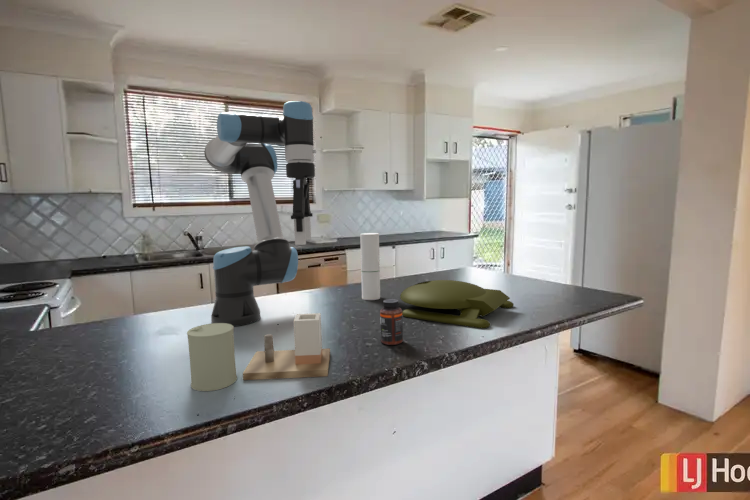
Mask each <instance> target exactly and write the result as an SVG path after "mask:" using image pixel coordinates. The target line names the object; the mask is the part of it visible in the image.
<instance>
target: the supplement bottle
mask: <svg viewBox="0 0 750 500" xmlns="http://www.w3.org/2000/svg"><path fill="white" fill-rule="evenodd" d="M382 303H383V304H382V305H383V307H382V308H380V310H379V320H380V321H379V322H380V323H379V324H380V341H381V342H380V343H382V344H384V345H387V346H395V345H400V344H402V342H404V325H403V321H404V320H403V315H402V312H403V310H402V308H401V307H399V300H398V299H395V298H387V299H383V302H382Z"/></svg>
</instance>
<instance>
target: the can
mask: <svg viewBox="0 0 750 500" xmlns="http://www.w3.org/2000/svg"><path fill="white" fill-rule="evenodd" d="M234 327H235V326H233V325H231V324H227V323H212V322H211V323H207V324H201V325H197V326H194V327H192V328H191V329H189V330H188V331H187V332H186V335H187V342H188V343H187V344H188V354H189V367H190V388H191V389H193V390H195V391H198V392H213V391H218V390H223V389H226V388H228V387H229V386H232V385H233V384H234V383H236V381H237V379H238V376H237V368H236V355H235V354H236V353H235V337H234V336H235V335H234V332H235V331H234Z"/></svg>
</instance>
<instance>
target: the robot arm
mask: <svg viewBox="0 0 750 500" xmlns="http://www.w3.org/2000/svg"><path fill="white" fill-rule="evenodd" d="M282 109H283V110H282V116H275V115H261V114H251V113H250V114H249V113H239V112H235V111H234V112H233V111H231V112H220V113H219V114H218V116H217V121H216V130H217V131H216V132H217V135H216V137H214V138H212V139H211V140H209V141H208V142H207V144H206V146H205V147H204V150H203V151H204V152H203V153H204V159H205V160H206V162H207V163H208V164H209V166H210V167H212V168H213V169H214V170H216V171H219V172H221V173H223V174H228V175H229V174H230V175H240V177H241V178H240V179H241V180H242V181H243V183H246V185H247V191H248V195H249V196H248V197H249V201H250V207H251V212H252V218H253V222H254V229H255V234H256V239H257V243H256V244H255V245H254V250H252V247H251V246H248V245H247V246H236V247H230V248H225V249H223V250H220V251H217V252H216V253H215V254H214V255H213V262H212V263H213V265H212V266H213V267H212V269H213V278H214V291H215V301H214V304H213V307H212V308H213V309H212V311H211V315H210V319H211V324H212V323H227V324H231V325H233V327H238V326H244V325H250V324H252V323H255V322H257V321H259V320H261V318H262V317H261V310H260V307H259V304H258V302H257V299H256V297H255V291H254V287H255V286H264V285H265V286H266V285H273V284H283V283H287V282H291V281H293V280H294V279H295V278H296V276H297V273H298V268H299V255H298V251H297V249H296V248H295V247H293V246H290V243H289V240H288V239H286V238H284V235H283V231H282V226H281V221H280V217H279V211H278V208H277V202H276V198H275V193H274V187H273V182H272V180H273V179H274V177H275V174H276V172H277V171H278V157H277V153H276V150H275V148H274V147H273V146H272V145H276V146H279V147H284V155H285V156H284V157H285V159H284V160H285V161H286V162H287V163H286V164H285V172H286V173H285V174H286V178H288V179H293V180H292V190H293V192H292V193H293V194H292V214H291V215H290V219H291V220H293V224H294V225H293V227H294V228H293V229H294V245H295V246H301V245H303V246H305V245H307V241H309V240H310V241H311V240H312V228H311V226H312V225H311V218H312V217H313V215H314V213H313V212H311V205H310V204H311V203H310V184H309V182H308V181H307V179H311V178H314V177H316V173H315V172H316V171H315V170H316V169H315V163H313V162H314V161H315V155H314V154H316V153H317V150H316V149H314V116H313V108H312V105H311V104H310V103H309V102H306V101H302V100H293V101H292V100H290V101H287V102H285V103H284V104H283V107H282Z"/></svg>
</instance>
